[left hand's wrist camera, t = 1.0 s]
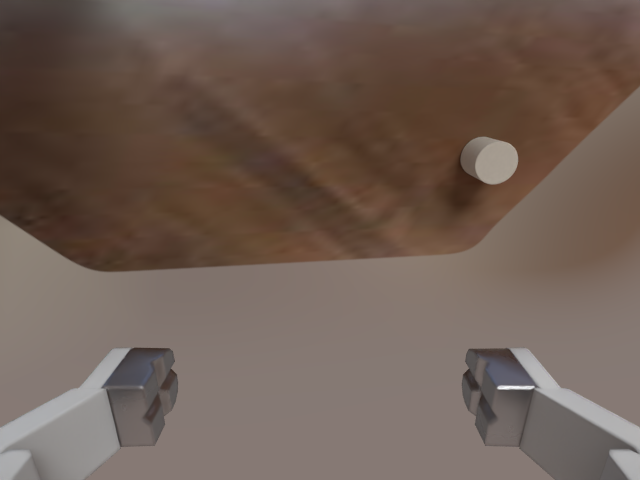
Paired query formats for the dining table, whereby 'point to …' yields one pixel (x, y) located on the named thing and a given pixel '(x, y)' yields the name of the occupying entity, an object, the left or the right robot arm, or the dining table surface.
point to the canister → (489, 160)
